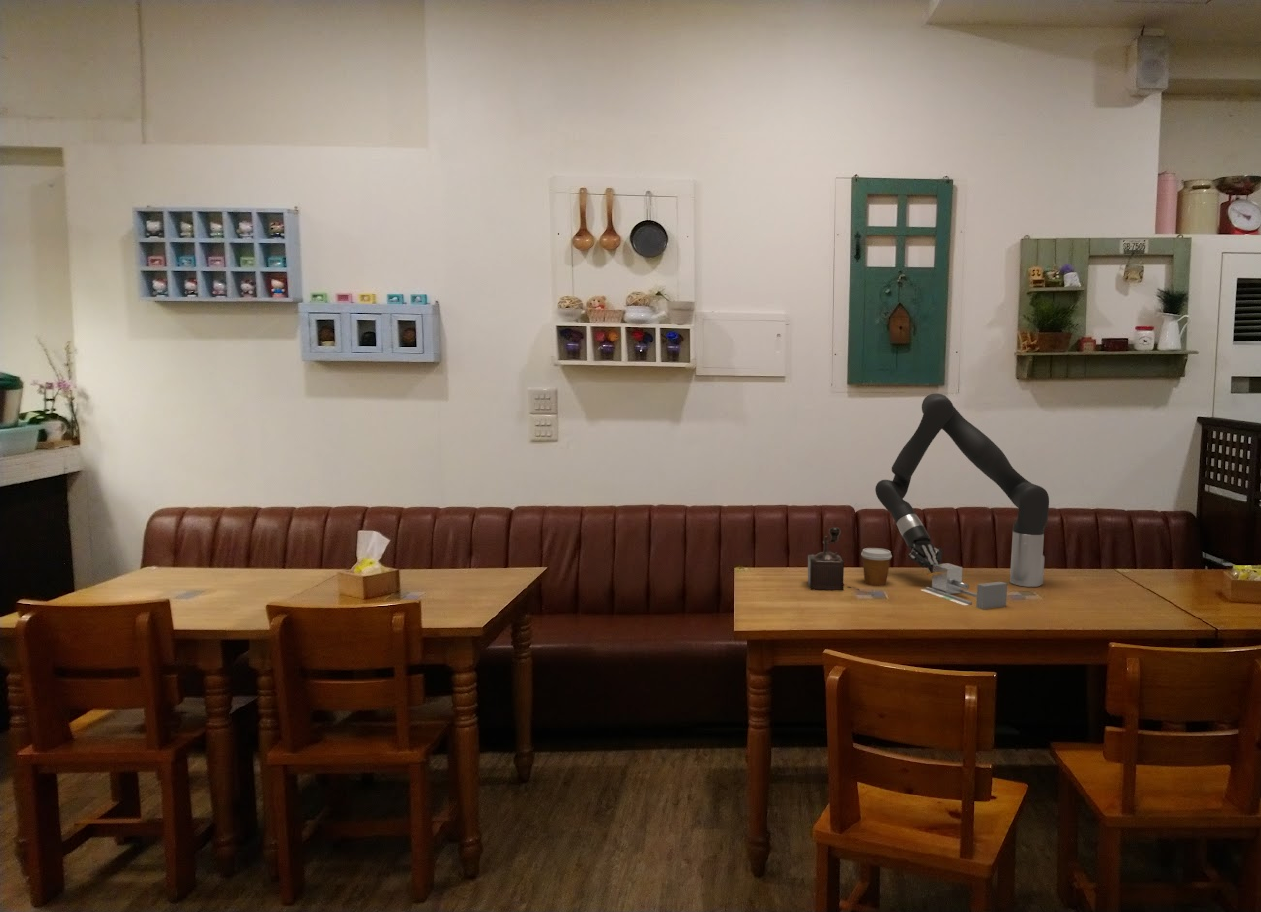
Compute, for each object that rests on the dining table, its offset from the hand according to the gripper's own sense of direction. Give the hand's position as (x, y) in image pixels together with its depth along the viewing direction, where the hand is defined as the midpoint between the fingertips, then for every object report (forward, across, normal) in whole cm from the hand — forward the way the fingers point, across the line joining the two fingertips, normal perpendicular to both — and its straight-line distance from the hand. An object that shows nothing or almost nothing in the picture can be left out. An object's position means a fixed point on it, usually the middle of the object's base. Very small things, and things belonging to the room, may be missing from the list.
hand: (938, 576), depth 252 cm
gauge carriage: (+7, -3, -2) cm, 8 cm away
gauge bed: (+11, 0, -4) cm, 12 cm away
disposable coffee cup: (-5, -14, +13) cm, 20 cm away
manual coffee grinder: (-11, -27, +19) cm, 35 cm away
